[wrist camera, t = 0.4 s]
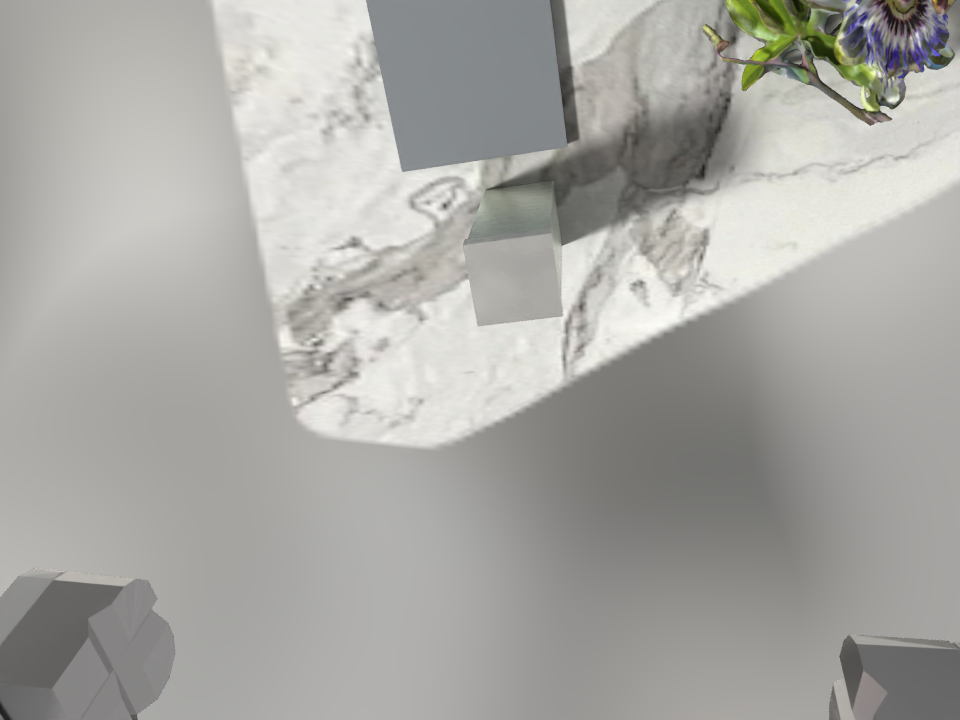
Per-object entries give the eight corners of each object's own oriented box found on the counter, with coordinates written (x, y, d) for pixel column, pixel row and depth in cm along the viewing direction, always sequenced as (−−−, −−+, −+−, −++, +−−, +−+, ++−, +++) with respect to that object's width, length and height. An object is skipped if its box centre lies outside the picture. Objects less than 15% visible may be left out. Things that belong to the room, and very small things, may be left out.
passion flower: (848, -28, 51) (1019, 31, 43) (729, 111, 53) (871, 192, 45) (785, -166, 43) (981, -124, 35) (649, 6, 45) (803, 82, 37)
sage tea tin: (483, 188, 54) (462, 245, 43) (554, 178, 53) (551, 233, 42) (495, 256, 56) (477, 326, 45) (563, 247, 55) (562, 316, 44)
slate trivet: (367, -9, 49) (364, -8, 48) (545, -42, 47) (544, -42, 47) (404, 169, 54) (402, 171, 53) (567, 144, 52) (567, 146, 51)
